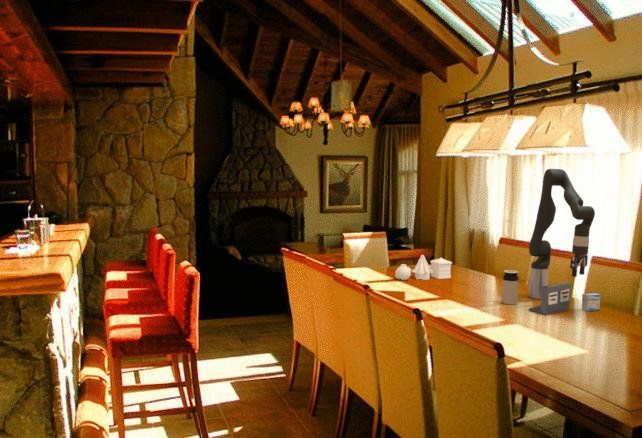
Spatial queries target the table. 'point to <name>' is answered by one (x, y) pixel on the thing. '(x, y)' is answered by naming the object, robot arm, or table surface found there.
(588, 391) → the table surface
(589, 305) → the medicine box
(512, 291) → the travel mug
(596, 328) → the table surface
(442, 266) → the decorative object set
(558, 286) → the label panel
